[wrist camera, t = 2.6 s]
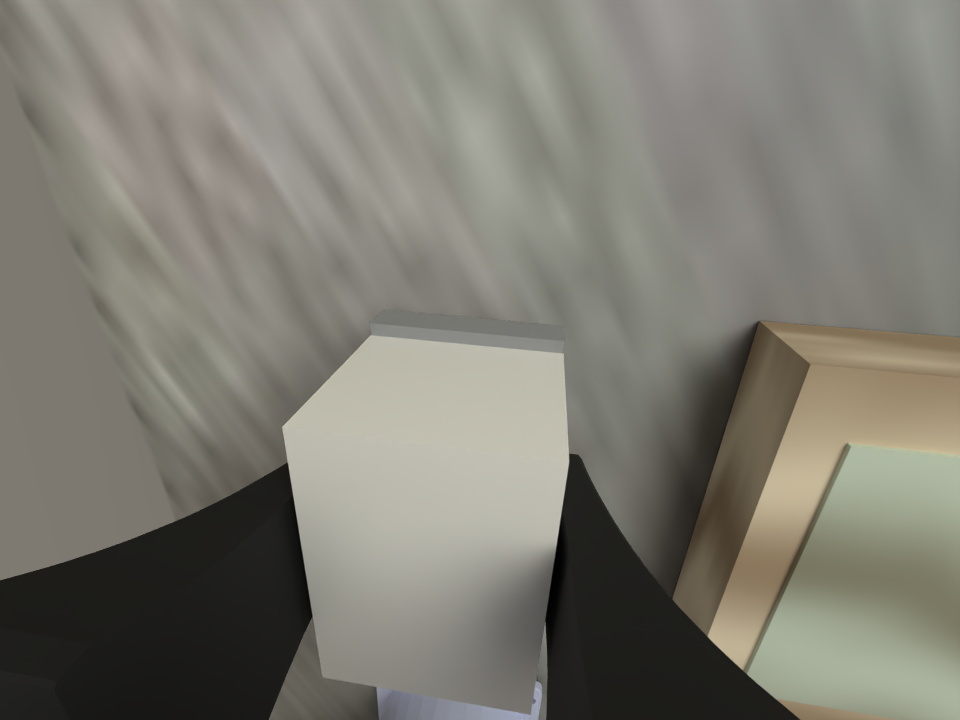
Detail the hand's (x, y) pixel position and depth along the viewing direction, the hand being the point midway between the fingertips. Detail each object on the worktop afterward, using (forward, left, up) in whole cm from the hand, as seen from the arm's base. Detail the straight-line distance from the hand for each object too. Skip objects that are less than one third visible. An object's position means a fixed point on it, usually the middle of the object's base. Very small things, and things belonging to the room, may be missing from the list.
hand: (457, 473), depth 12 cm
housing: (0, 0, -2) cm, 2 cm away
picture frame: (-4, -14, -5) cm, 15 cm away
